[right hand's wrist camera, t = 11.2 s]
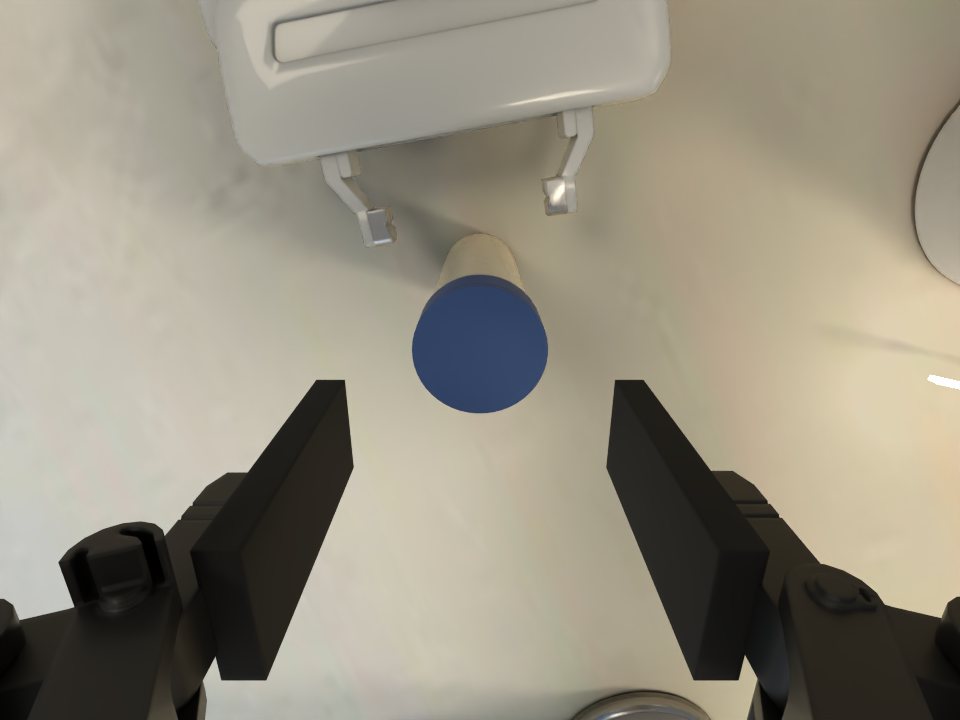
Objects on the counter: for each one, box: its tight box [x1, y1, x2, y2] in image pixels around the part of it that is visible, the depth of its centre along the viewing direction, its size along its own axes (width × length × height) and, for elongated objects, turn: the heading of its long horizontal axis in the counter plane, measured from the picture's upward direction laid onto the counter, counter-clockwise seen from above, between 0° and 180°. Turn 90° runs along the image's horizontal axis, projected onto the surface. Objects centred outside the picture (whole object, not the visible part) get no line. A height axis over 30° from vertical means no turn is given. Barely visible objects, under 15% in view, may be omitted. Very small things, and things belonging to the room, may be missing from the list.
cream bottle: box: [434, 234, 526, 293], centre depth 27 cm, size 5×5×16 cm
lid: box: [412, 274, 548, 413], centre depth 21 cm, size 5×5×2 cm
